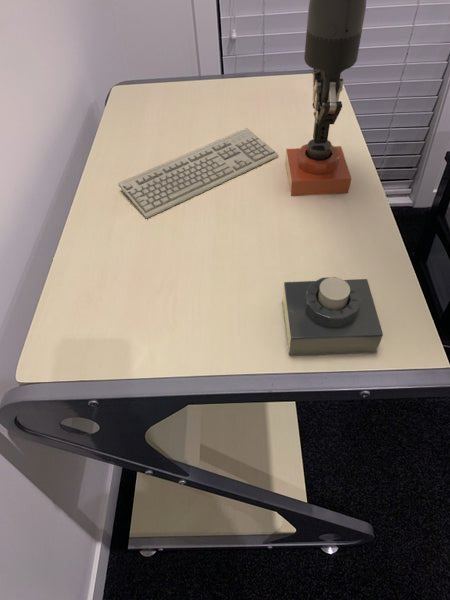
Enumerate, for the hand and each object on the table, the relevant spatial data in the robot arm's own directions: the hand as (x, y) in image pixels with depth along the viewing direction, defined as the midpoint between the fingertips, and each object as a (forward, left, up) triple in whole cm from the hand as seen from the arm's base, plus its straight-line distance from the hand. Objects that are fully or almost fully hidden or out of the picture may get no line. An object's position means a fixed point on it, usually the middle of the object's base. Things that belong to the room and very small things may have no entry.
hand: (319, 140), depth 72 cm
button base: (0, 0, -7) cm, 7 cm away
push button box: (+3, +33, -7) cm, 34 cm away
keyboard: (+21, -3, -7) cm, 22 cm away
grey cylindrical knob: (+3, +33, -2) cm, 33 cm away
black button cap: (0, 0, -3) cm, 3 cm away
